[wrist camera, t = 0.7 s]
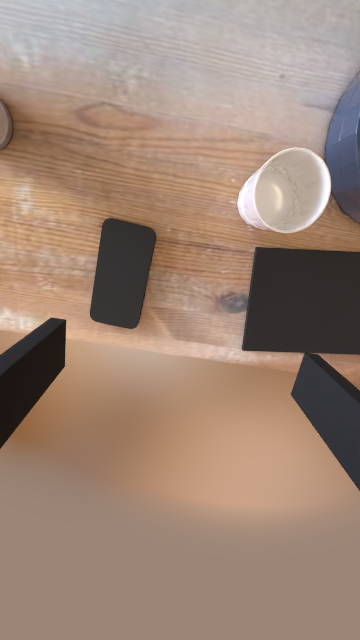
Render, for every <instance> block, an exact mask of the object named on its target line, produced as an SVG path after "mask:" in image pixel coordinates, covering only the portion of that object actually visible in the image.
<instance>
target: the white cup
mask: <svg viewBox="0 0 360 640" xmlns="http://www.w3.org/2000/svg"><path fill="white" fill-rule="evenodd" d="M330 192H331V178H330V173H329V170H328V168H327V166H326V164H325V162H324V161H323V160H322V158H321V157H320V156H319V155H317V154H316V153H315V152H313V151H311V150H308V149H305V148H289V149H286V150H283V151H281V152H279V153H277V154H276V155H274V156H273V157H271V158H270V159H269V160H268V161H267V162H266V163H265V164H264V165H263V166H261V167H260V168H259V169H258V170H257V171H256V172H255V173H254V174H253V175H252V176H251V177H250V178H249V179H248V180H247V181H246V183H245V184H244V186H243V187H242V189H241V190H240V192H239V197H238V202H237V206H238V210H239V214H240V216H241V217H242V219H243V220H244V221H245V222H246V223H247V224H248V225H251V226H253V227H256V228H259V229H263V230H267V231H274V232H280V233H294V232H298V231H301V230H303V229H305V228H307V227H309V226H310V225H311V224H313V223H314V222H315V221H316V220H317V219H318V218H319V217H320V215H321V214H322V213H323V211H324V209H325V207H326V205H327V203H328V200H329V197H330Z"/></svg>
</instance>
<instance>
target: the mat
mask: <svg viewBox="0 0 360 640" xmlns="http://www.w3.org/2000/svg"><path fill="white" fill-rule="evenodd" d="M242 350H243V351H271V352H300V353H330V354H359V355H360V252H340V251H320V250H300V249H280V248H260V247H256V248H255V256H254V263H253V270H252V278H251V285H250V293H249V300H248V308H247V315H246V323H245V330H244V338H243V345H242Z"/></svg>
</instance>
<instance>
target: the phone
mask: <svg viewBox="0 0 360 640" xmlns="http://www.w3.org/2000/svg"><path fill="white" fill-rule="evenodd" d="M155 239H156V234H155V232H154V230H153V229H151V228H149V227H145V226H141V225H137V224H133V223H129V222H125V221H121V220H117V219H113V218H109V219H106V220H105V221H104V223H103V226H102V232H101V239H100V246H99V253H98V260H97V267H96V274H95V281H94V287H93V294H92V301H91V308H90V317H91V318H92V320H94V321H96V322H100V323H104V324H109V325H114V326H119V327H123V328H128V329H133V328H135V327H136V326H137V325H138V323H139V319H140V315H141V309H142V306H143V300H144V296H145V289H146V284H147V279H148V274H149V269H150V264H151V259H152V254H153V250H154V245H155Z"/></svg>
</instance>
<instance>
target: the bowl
mask: <svg viewBox="0 0 360 640" xmlns="http://www.w3.org/2000/svg"><path fill="white" fill-rule="evenodd" d="M326 166H327V168H328V170H329V173H330V178H331V190H332V194H333V196H334V197H335V199H336V200H337V202H338V203H339V205H340V206H341V208H342V210H343V211H344V212H345V213H346V214H348V215H349V216H350V217H351V218H353V219H354V220H355V221H356V222H358V223H359V224H360V71H359V72H358V73H357V75H356V76H355V78H354V79H353V81H352V82H351V84H350V85H349V87H348V88H347V89H346V91H345V92H344V94H343V95H342V97H341V99H340V101H339V104H338V106H337V109H336V111H335V113H334V116H333V118H332V120H331V123H330V128H329V133H328V138H327V144H326Z"/></svg>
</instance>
